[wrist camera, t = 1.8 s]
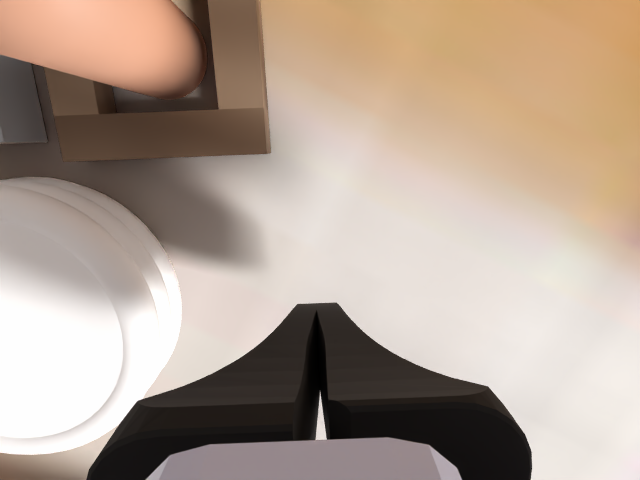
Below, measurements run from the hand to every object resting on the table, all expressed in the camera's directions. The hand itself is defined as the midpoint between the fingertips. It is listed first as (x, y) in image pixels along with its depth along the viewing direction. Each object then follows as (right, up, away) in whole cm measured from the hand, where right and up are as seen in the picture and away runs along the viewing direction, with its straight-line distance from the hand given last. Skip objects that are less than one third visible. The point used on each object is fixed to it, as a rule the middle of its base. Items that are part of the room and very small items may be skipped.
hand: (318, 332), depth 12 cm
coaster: (-11, +1, +4) cm, 11 cm away
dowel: (-5, +9, +2) cm, 11 cm away
